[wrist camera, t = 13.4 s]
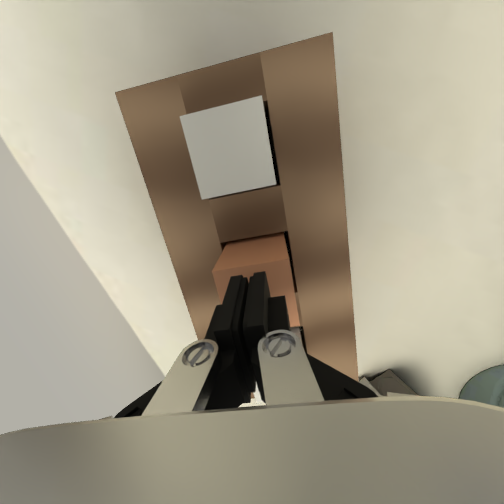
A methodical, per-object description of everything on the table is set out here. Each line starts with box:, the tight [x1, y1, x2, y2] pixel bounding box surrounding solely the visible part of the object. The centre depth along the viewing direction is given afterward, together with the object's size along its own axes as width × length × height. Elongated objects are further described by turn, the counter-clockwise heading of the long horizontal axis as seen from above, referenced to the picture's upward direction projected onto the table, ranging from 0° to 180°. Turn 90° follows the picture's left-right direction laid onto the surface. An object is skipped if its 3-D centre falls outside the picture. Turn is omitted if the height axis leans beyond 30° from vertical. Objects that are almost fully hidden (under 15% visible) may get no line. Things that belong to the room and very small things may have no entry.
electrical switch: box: [359, 369, 418, 396], centre depth 22 cm, size 8×5×8 cm, turn 36°
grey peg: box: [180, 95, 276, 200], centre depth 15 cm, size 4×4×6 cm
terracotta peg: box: [212, 232, 300, 327], centre depth 16 cm, size 4×4×6 cm
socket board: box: [115, 32, 359, 398], centre depth 19 cm, size 24×12×5 cm, turn 12°
